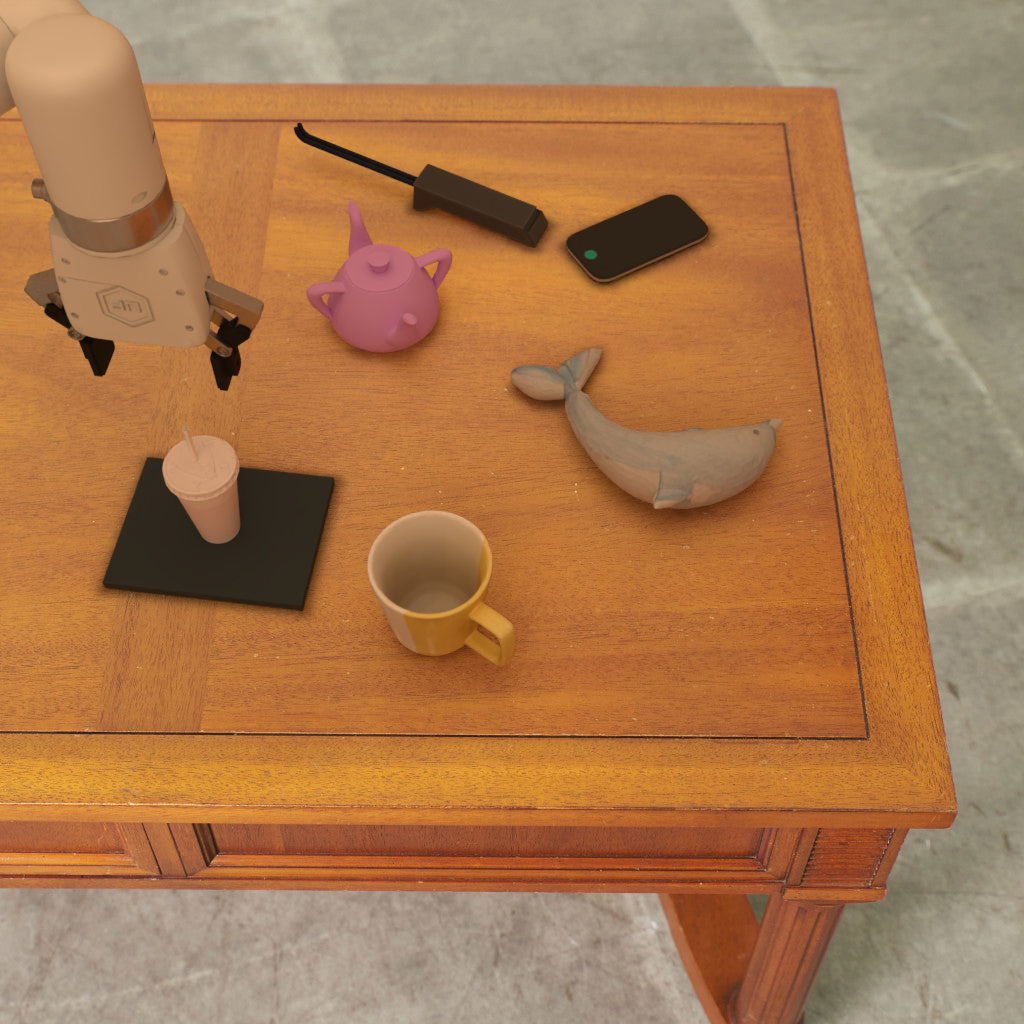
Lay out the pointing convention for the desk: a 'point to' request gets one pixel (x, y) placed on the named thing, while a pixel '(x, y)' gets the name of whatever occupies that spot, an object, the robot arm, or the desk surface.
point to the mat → (234, 564)
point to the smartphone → (636, 238)
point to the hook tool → (453, 195)
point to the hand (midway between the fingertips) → (166, 369)
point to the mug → (438, 586)
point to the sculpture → (654, 443)
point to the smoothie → (206, 484)
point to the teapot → (381, 293)
